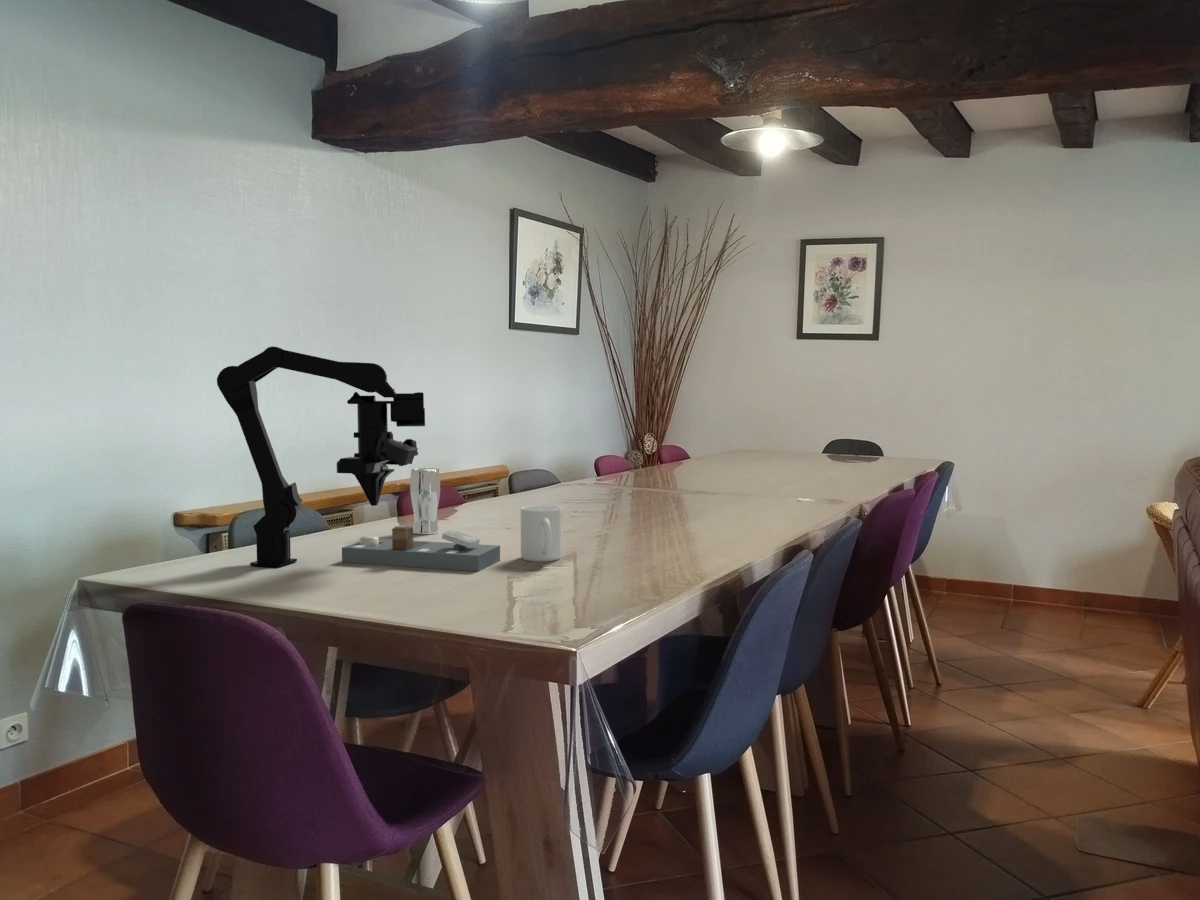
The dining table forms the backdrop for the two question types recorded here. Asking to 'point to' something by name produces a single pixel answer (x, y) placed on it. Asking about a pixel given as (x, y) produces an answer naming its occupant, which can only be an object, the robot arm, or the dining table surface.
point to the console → (424, 555)
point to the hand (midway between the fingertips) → (374, 505)
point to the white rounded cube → (369, 540)
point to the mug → (541, 533)
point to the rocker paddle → (460, 538)
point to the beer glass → (425, 500)
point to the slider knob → (402, 537)
